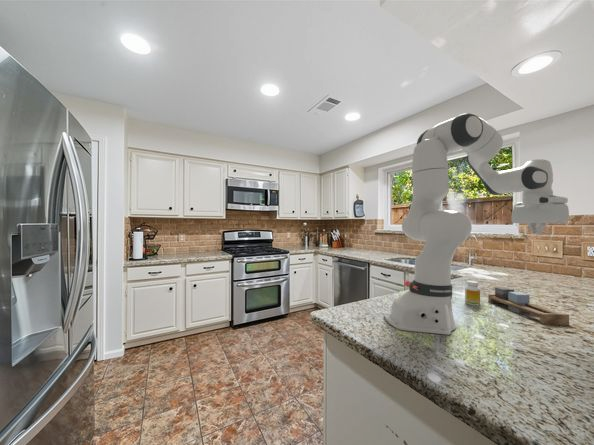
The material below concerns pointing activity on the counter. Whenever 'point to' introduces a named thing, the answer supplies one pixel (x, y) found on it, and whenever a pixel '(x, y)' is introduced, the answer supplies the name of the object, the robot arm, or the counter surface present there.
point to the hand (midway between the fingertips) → (536, 234)
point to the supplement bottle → (472, 293)
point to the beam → (528, 308)
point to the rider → (519, 298)
